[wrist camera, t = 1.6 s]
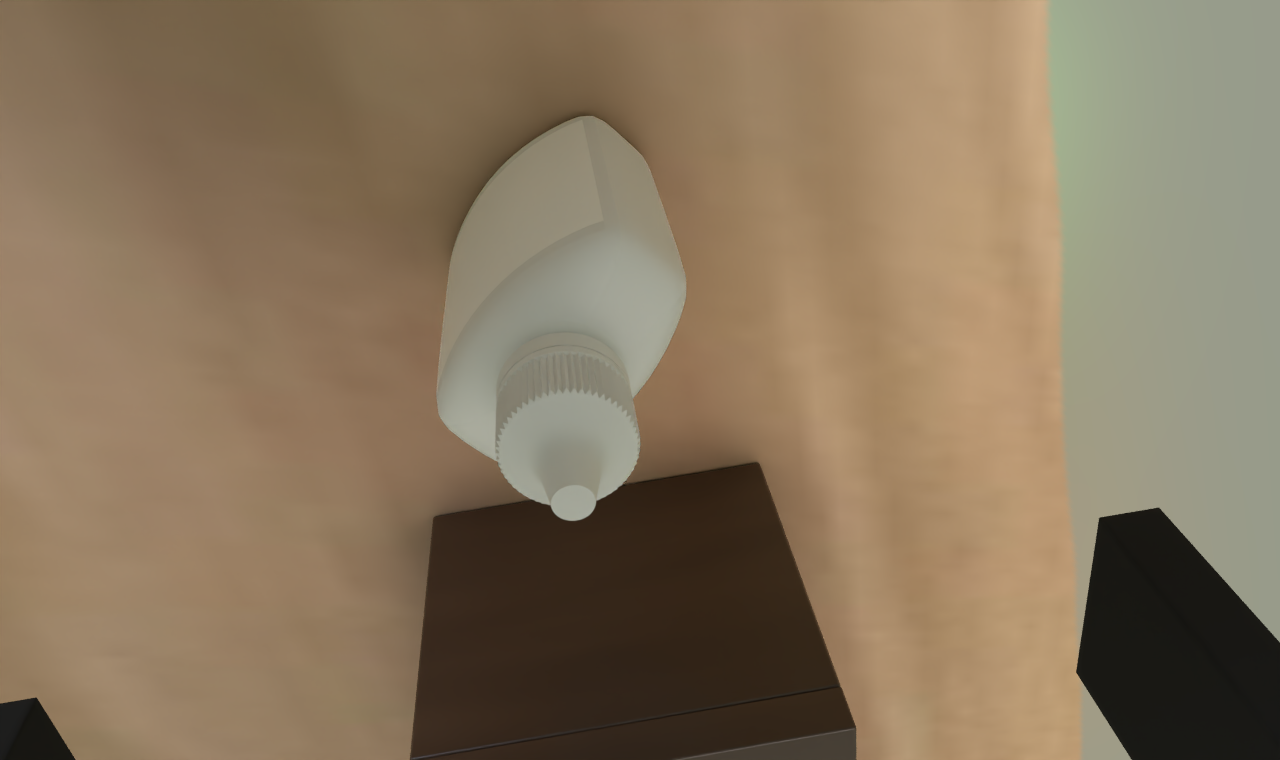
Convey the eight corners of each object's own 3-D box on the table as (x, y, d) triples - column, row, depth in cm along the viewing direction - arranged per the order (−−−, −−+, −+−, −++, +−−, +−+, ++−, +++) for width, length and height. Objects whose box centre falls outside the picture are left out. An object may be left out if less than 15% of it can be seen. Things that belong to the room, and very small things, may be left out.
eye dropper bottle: (409, 169, 25) (340, 449, 15) (625, 94, 24) (710, 328, 14) (476, 317, 27) (457, 649, 17) (675, 251, 27) (779, 549, 17)
